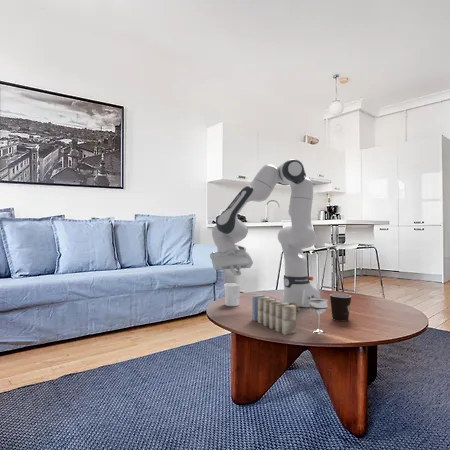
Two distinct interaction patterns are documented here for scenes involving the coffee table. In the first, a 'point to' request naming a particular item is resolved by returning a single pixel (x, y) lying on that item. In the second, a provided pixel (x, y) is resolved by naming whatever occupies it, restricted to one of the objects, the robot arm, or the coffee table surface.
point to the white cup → (232, 294)
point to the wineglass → (318, 308)
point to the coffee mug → (340, 306)
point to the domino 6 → (288, 319)
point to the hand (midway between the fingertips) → (237, 274)
